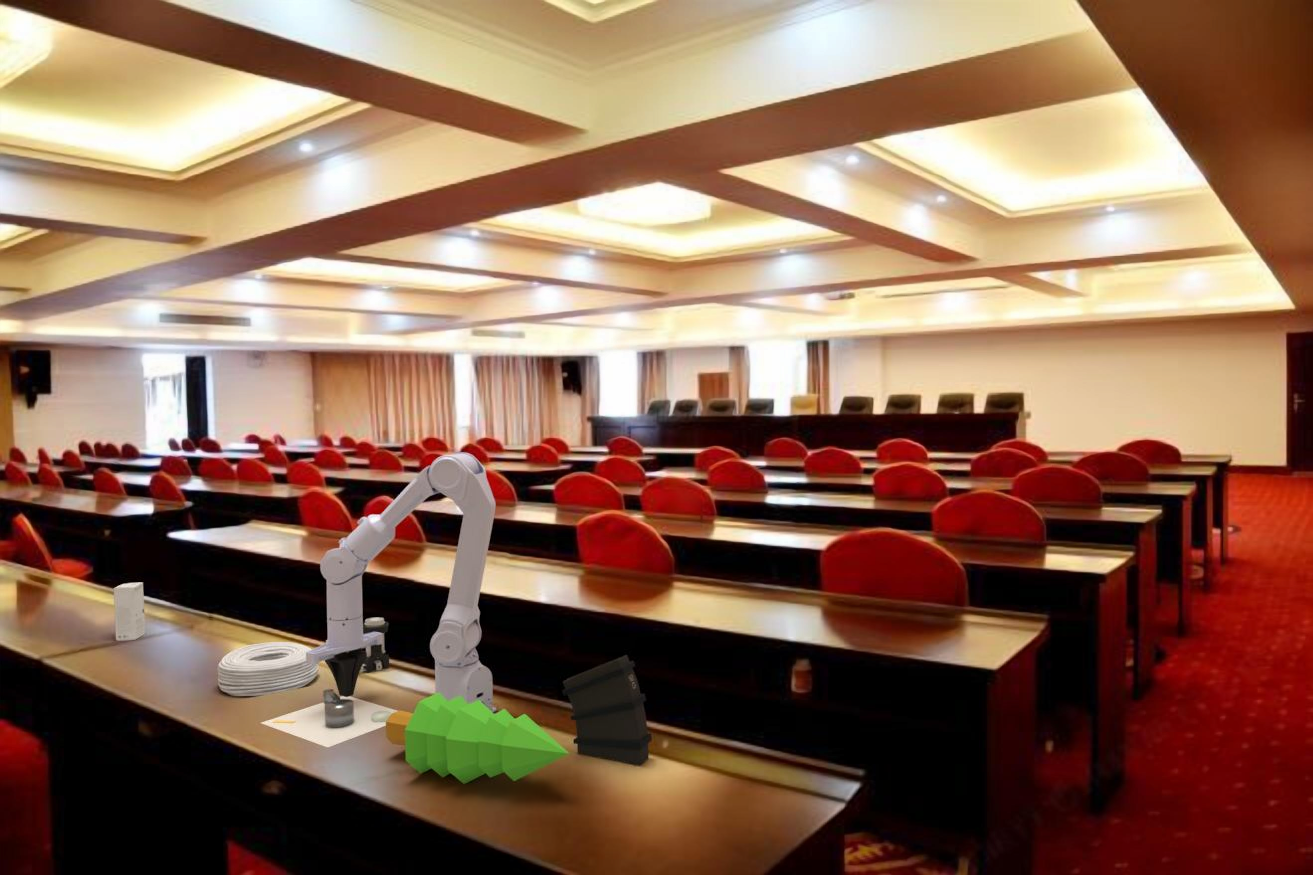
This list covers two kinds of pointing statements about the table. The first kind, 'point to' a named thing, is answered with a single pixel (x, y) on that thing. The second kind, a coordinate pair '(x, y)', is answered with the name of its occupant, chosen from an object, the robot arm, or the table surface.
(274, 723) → the white paper sheet
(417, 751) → the decorative tree
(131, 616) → the skincare box
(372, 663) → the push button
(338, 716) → the grey crank handle
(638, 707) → the magazine
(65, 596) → the table surface
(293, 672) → the cable
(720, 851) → the table surface
